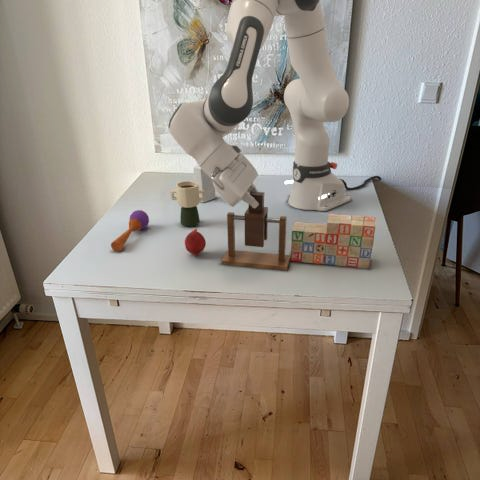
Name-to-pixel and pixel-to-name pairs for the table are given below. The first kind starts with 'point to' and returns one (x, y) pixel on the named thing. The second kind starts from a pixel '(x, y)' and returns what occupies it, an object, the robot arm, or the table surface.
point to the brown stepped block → (256, 222)
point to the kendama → (131, 228)
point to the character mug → (188, 201)
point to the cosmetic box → (204, 184)
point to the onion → (195, 242)
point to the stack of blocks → (334, 241)
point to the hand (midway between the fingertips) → (258, 203)
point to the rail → (256, 258)
